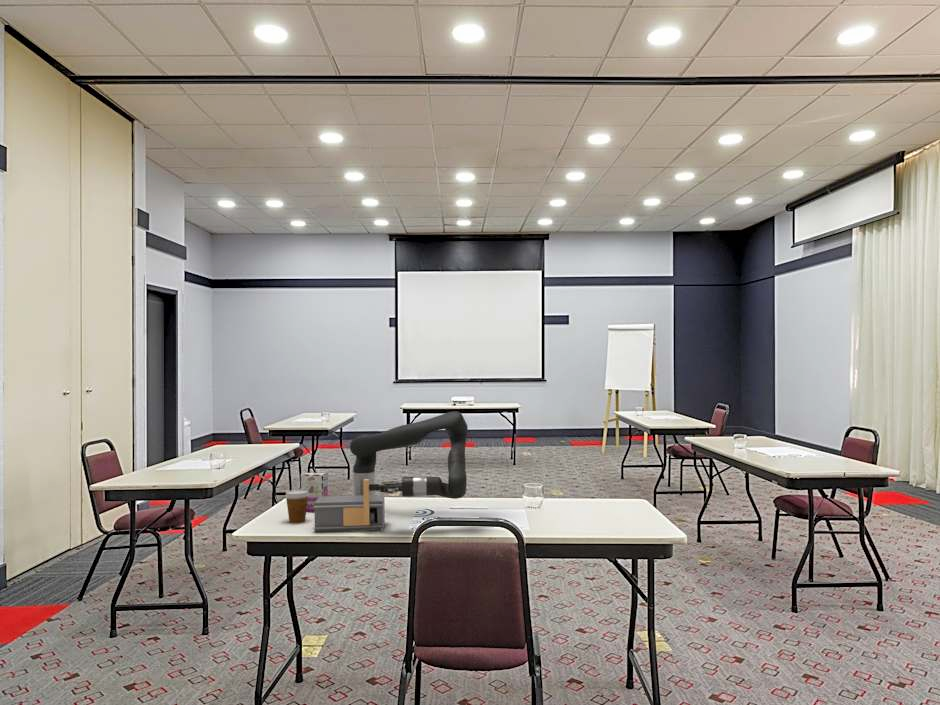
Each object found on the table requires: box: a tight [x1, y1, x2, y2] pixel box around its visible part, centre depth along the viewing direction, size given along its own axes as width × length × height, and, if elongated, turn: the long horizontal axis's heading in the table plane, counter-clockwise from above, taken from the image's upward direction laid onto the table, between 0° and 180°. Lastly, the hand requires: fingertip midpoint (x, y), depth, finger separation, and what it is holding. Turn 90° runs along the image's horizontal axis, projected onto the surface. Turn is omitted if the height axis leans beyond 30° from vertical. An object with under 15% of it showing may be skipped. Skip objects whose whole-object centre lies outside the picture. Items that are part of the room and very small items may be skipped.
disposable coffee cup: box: [285, 489, 309, 524], centre depth 269 cm, size 10×10×12 cm
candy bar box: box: [300, 472, 329, 513], centre depth 287 cm, size 11×5×16 cm, turn 73°
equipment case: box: [313, 494, 386, 532], centre depth 257 cm, size 14×26×11 cm, turn 94°
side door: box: [343, 479, 370, 526], centre depth 250 cm, size 4×10×18 cm, turn 94°
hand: (369, 487), depth 250 cm, fingers closed
